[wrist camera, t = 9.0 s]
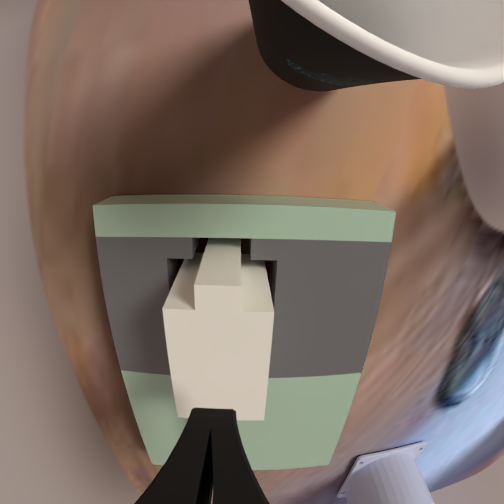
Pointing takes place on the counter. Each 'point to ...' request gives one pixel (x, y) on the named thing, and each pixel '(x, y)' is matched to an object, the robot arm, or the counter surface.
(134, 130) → the counter surface
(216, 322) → the plug
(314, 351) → the board
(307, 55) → the dixie cup
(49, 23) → the counter surface
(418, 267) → the counter surface
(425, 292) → the counter surface
